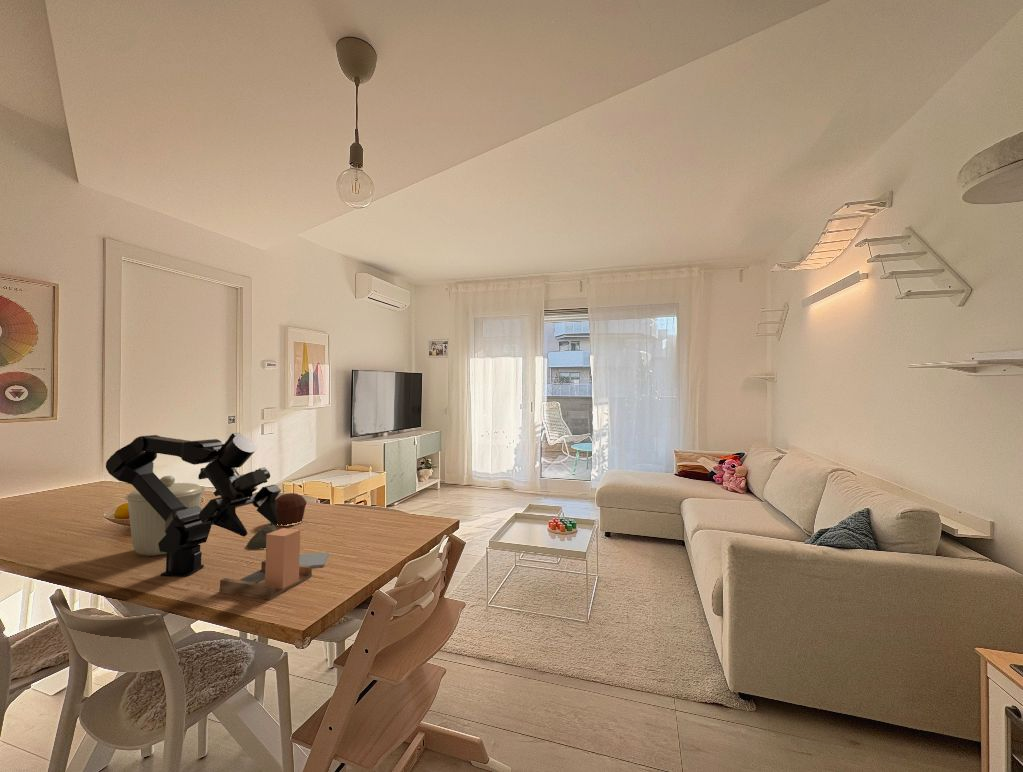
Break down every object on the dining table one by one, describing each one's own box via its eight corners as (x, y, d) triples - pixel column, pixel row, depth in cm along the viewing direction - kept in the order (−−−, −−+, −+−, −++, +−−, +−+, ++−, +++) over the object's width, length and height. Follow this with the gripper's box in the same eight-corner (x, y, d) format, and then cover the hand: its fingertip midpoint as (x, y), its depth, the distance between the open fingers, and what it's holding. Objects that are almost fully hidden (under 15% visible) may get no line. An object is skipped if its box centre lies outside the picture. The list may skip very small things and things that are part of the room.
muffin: (281, 518, 158) (282, 490, 158) (312, 518, 157) (312, 490, 158) (263, 527, 146) (263, 497, 146) (295, 528, 146) (296, 498, 146)
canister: (145, 541, 130) (148, 471, 131) (213, 537, 135) (216, 470, 135) (105, 564, 113) (109, 483, 113) (185, 558, 117) (188, 480, 118)
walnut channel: (219, 591, 98) (219, 580, 98) (265, 570, 110) (265, 559, 110) (270, 600, 94) (270, 588, 94) (311, 576, 107) (312, 565, 107)
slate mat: (286, 569, 111) (286, 567, 111) (293, 557, 119) (293, 555, 119) (323, 566, 113) (323, 564, 113) (328, 554, 122) (328, 552, 122)
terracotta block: (264, 586, 100) (266, 534, 100) (281, 577, 104) (282, 528, 105) (282, 589, 98) (284, 536, 99) (298, 580, 103) (300, 529, 103)
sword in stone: (259, 552, 123) (260, 509, 124) (241, 549, 126) (241, 507, 127) (290, 541, 132) (290, 502, 133) (272, 539, 136) (272, 500, 136)
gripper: (210, 463, 96) (249, 517, 93) (276, 453, 114) (310, 498, 111) (182, 496, 98) (219, 550, 95) (251, 481, 116) (284, 526, 113)
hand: (262, 529), depth 103 cm, fingers open, 9 cm apart
